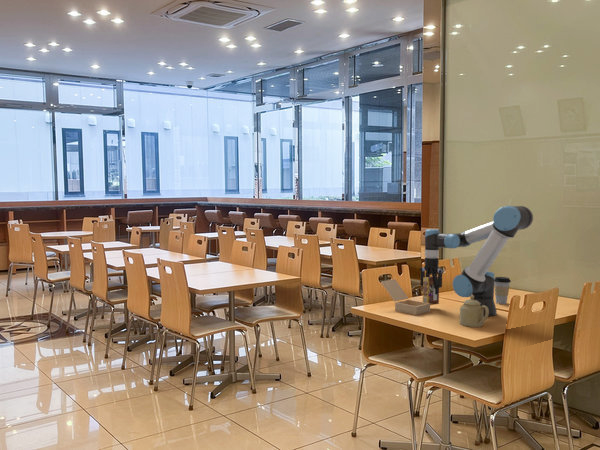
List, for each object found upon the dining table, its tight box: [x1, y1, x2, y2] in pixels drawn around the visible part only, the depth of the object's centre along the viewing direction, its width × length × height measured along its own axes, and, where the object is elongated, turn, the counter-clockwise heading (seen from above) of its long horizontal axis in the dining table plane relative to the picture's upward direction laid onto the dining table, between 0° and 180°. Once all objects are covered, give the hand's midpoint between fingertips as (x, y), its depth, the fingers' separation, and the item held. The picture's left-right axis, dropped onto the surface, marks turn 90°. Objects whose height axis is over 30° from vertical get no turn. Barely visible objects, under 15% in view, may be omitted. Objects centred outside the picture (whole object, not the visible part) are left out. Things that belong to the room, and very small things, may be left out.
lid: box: [380, 278, 409, 303], centre depth 313 cm, size 14×13×1 cm
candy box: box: [422, 276, 440, 306], centre depth 313 cm, size 9×4×15 cm, turn 124°
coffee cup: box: [494, 276, 511, 305], centre depth 333 cm, size 9×9×15 cm
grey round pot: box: [459, 294, 489, 328], centre depth 276 cm, size 15×11×15 cm
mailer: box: [394, 299, 431, 316], centre depth 305 cm, size 14×13×4 cm
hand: (430, 299), depth 313 cm, fingers closed on candy box, 5 cm apart
